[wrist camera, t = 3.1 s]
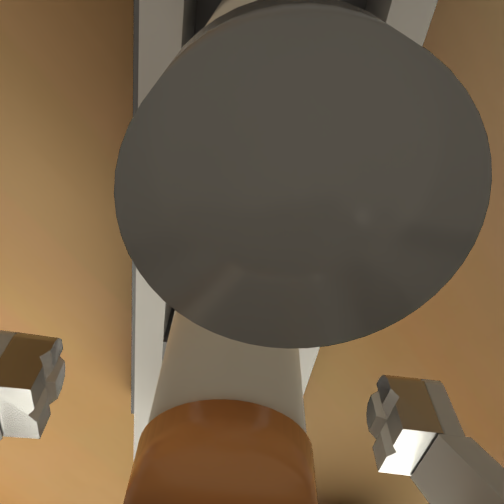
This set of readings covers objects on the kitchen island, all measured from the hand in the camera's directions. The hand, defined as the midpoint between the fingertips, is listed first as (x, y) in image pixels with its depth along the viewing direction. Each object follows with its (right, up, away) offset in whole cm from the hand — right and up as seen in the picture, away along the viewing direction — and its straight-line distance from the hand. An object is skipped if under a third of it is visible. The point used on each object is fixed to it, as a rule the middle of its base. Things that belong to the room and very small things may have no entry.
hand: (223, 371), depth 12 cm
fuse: (+1, +9, +1) cm, 9 cm away
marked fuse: (0, +3, +5) cm, 6 cm away
